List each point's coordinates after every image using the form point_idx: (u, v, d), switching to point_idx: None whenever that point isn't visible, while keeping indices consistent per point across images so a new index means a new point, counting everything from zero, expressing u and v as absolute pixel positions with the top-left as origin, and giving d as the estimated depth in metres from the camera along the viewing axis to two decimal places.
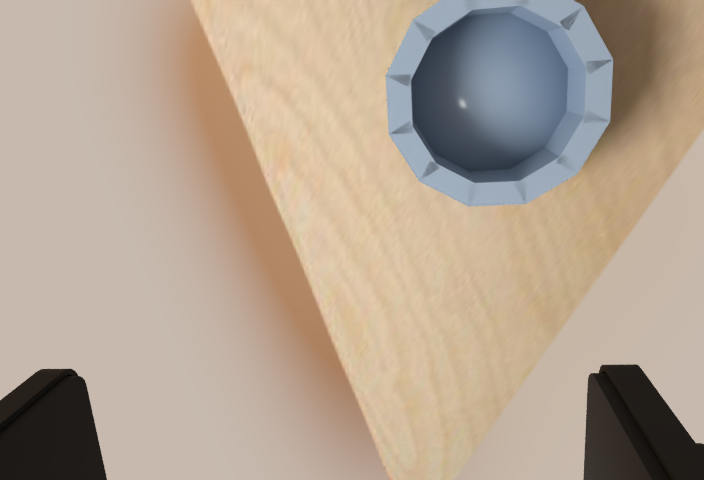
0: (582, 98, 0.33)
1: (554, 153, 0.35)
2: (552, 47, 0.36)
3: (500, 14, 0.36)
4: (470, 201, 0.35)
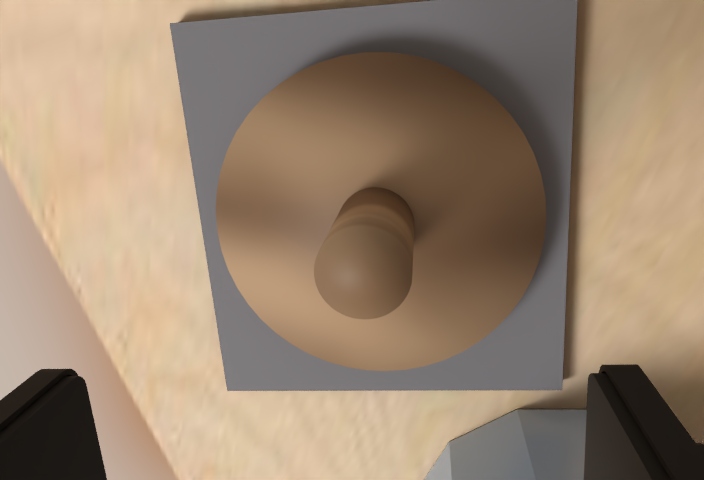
0: None
1: None
2: None
3: None
4: None
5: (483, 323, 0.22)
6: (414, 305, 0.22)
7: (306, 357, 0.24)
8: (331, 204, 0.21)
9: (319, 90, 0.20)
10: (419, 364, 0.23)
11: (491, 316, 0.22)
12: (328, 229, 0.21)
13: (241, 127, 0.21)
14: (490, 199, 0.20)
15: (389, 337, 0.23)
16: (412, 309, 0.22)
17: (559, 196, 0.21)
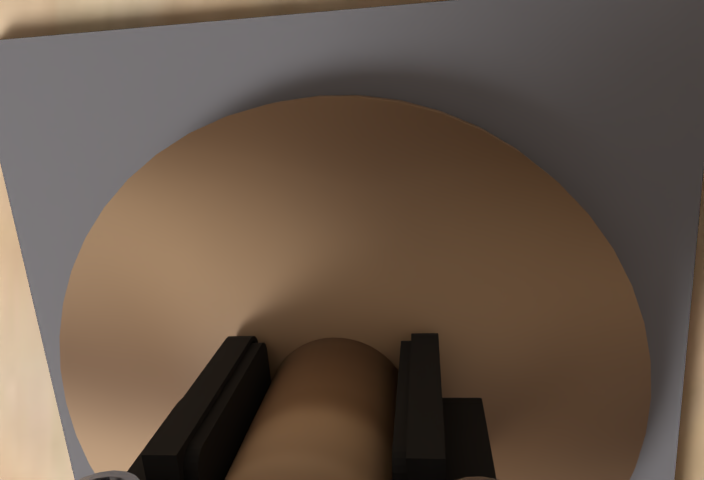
0: None
1: None
2: None
3: None
4: None
5: None
6: None
7: None
8: None
9: (229, 167, 0.11)
10: None
11: None
12: None
13: (93, 230, 0.11)
14: (547, 363, 0.11)
15: None
16: None
17: (667, 350, 0.12)
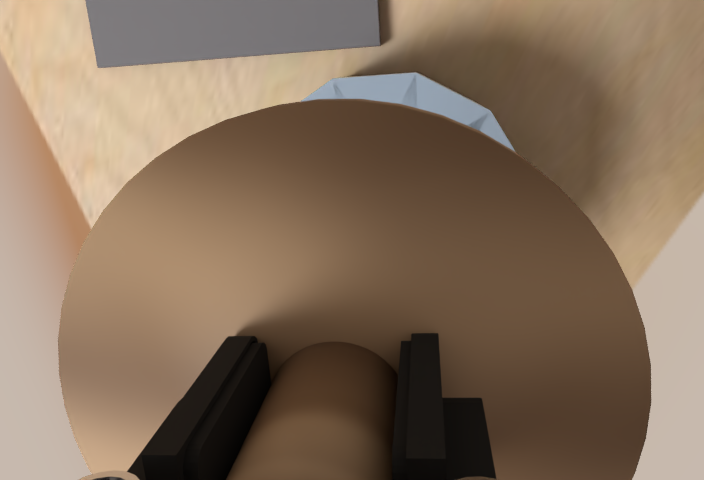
0: None
1: None
2: None
3: None
4: None
5: None
6: None
7: (162, 27, 0.28)
8: None
9: (228, 170, 0.11)
10: None
11: None
12: None
13: (92, 234, 0.11)
14: (547, 367, 0.11)
15: None
16: None
17: None
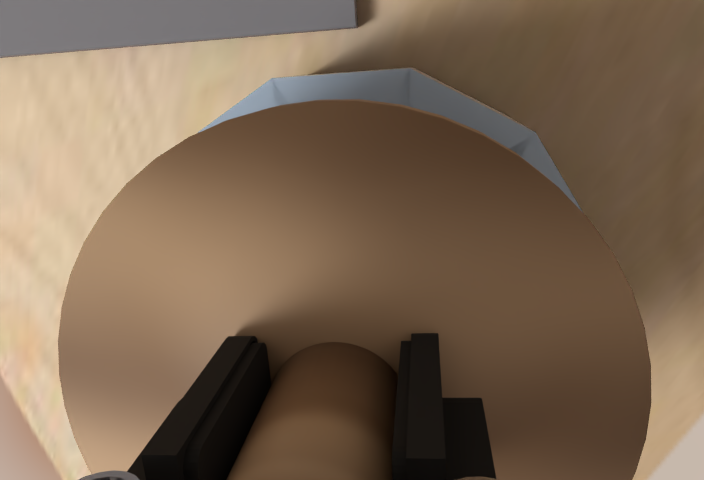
0: None
1: None
2: None
3: None
4: None
5: None
6: None
7: (29, 1, 0.19)
8: None
9: (228, 171, 0.11)
10: None
11: None
12: None
13: (92, 234, 0.11)
14: (547, 368, 0.11)
15: None
16: None
17: None
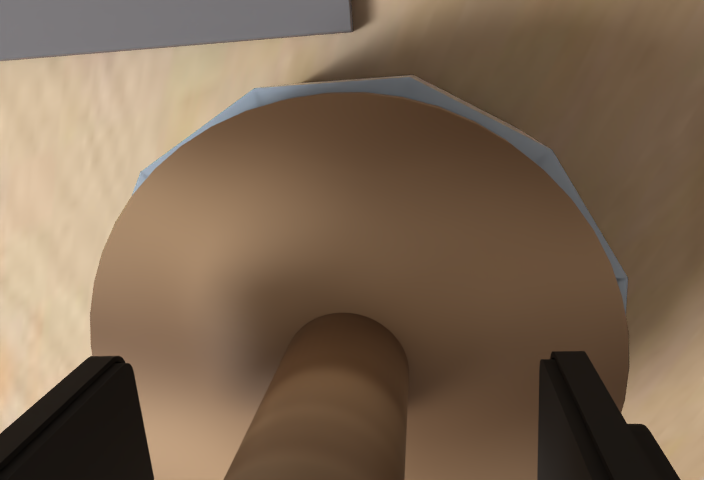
0: None
1: None
2: None
3: None
4: None
5: None
6: None
7: None
8: (273, 337, 0.13)
9: (247, 157, 0.12)
10: None
11: None
12: (270, 375, 0.13)
13: (123, 215, 0.13)
14: (535, 335, 0.12)
15: None
16: None
17: None
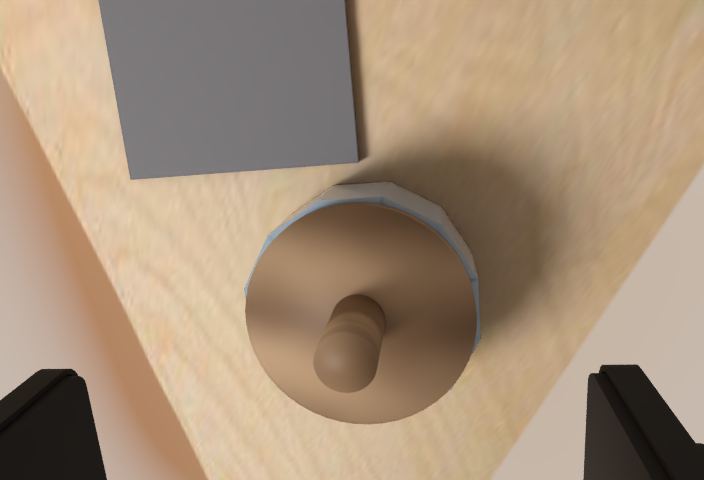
0: None
1: None
2: None
3: None
4: None
5: (437, 389, 0.30)
6: (388, 376, 0.31)
7: (183, 148, 0.35)
8: (326, 306, 0.30)
9: (316, 230, 0.29)
10: (393, 419, 0.31)
11: (443, 383, 0.30)
12: (325, 323, 0.30)
13: (263, 254, 0.30)
14: (437, 302, 0.29)
15: (370, 399, 0.31)
16: (386, 379, 0.31)
17: (338, 15, 0.32)
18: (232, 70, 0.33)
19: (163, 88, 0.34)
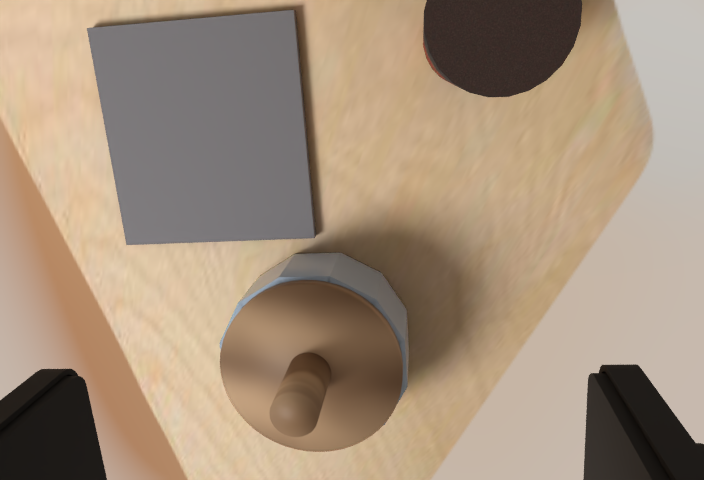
0: None
1: None
2: None
3: None
4: None
5: (372, 426, 0.38)
6: (333, 415, 0.39)
7: (170, 222, 0.42)
8: (284, 360, 0.38)
9: (276, 302, 0.37)
10: (338, 448, 0.39)
11: (376, 422, 0.38)
12: (283, 373, 0.38)
13: (234, 319, 0.37)
14: (371, 360, 0.37)
15: (320, 432, 0.39)
16: (332, 417, 0.39)
17: (298, 122, 0.39)
18: (211, 161, 0.40)
19: (154, 173, 0.41)
